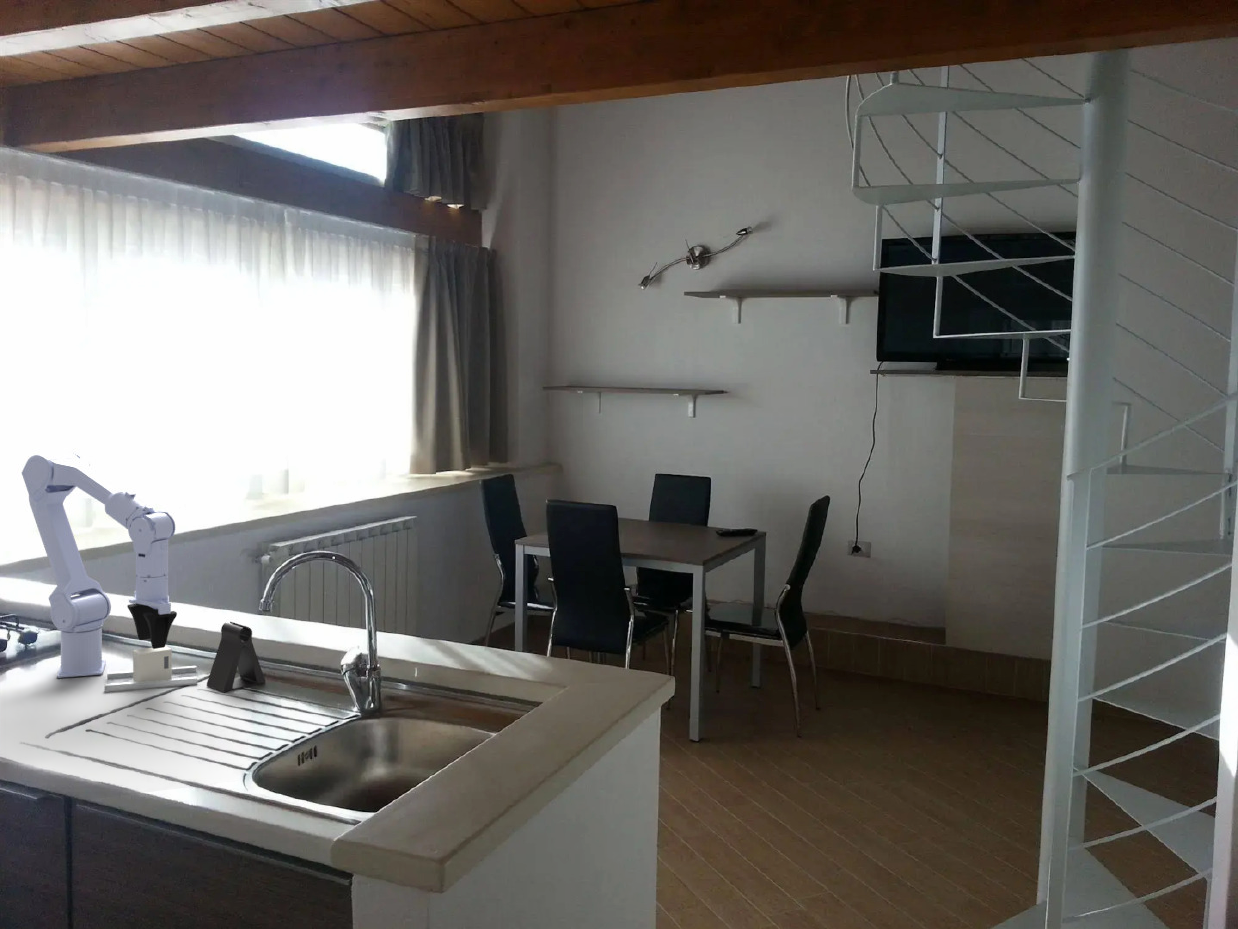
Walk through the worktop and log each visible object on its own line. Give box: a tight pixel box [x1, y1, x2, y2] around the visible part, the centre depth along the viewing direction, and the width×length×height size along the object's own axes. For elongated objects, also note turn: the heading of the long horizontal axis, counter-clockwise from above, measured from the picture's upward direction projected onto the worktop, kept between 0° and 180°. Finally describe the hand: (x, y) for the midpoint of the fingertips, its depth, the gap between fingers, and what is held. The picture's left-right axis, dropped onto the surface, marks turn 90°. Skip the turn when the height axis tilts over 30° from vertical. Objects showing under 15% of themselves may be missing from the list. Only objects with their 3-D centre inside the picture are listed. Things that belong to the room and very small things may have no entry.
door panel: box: [132, 645, 173, 681], centre depth 191 cm, size 3×6×6 cm, turn 135°
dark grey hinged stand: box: [206, 621, 266, 694], centre depth 191 cm, size 9×6×12 cm, turn 143°
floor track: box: [104, 665, 198, 693], centre depth 191 cm, size 9×16×1 cm, turn 114°
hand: (151, 643), depth 191 cm, fingers open, 7 cm apart
